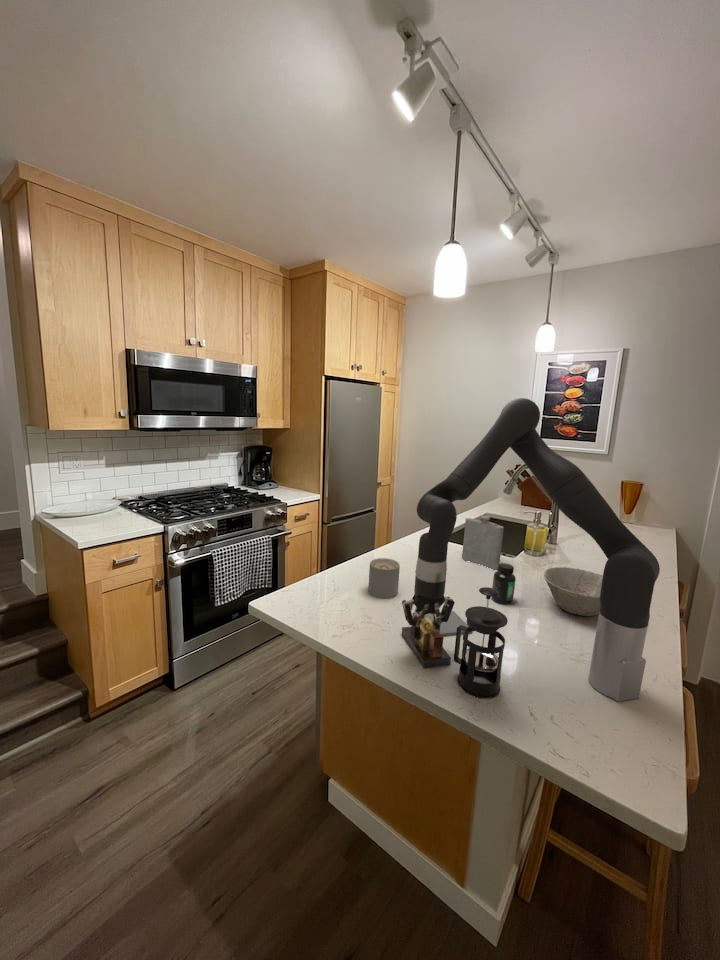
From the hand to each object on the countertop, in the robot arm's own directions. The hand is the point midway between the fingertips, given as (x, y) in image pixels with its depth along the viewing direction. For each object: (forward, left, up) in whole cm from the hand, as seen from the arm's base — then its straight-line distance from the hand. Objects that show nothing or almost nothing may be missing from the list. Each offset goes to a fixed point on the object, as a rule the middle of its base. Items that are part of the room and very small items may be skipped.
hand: (425, 636), depth 105 cm
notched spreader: (+51, -47, -4) cm, 69 cm away
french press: (-15, -6, -3) cm, 16 cm away
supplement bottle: (+21, -37, -3) cm, 43 cm away
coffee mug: (+34, -1, -4) cm, 34 cm away
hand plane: (0, 0, -3) cm, 3 cm away
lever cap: (0, 0, -1) cm, 1 cm away
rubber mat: (+10, -11, -3) cm, 15 cm away
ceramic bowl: (+11, -58, -4) cm, 59 cm away
